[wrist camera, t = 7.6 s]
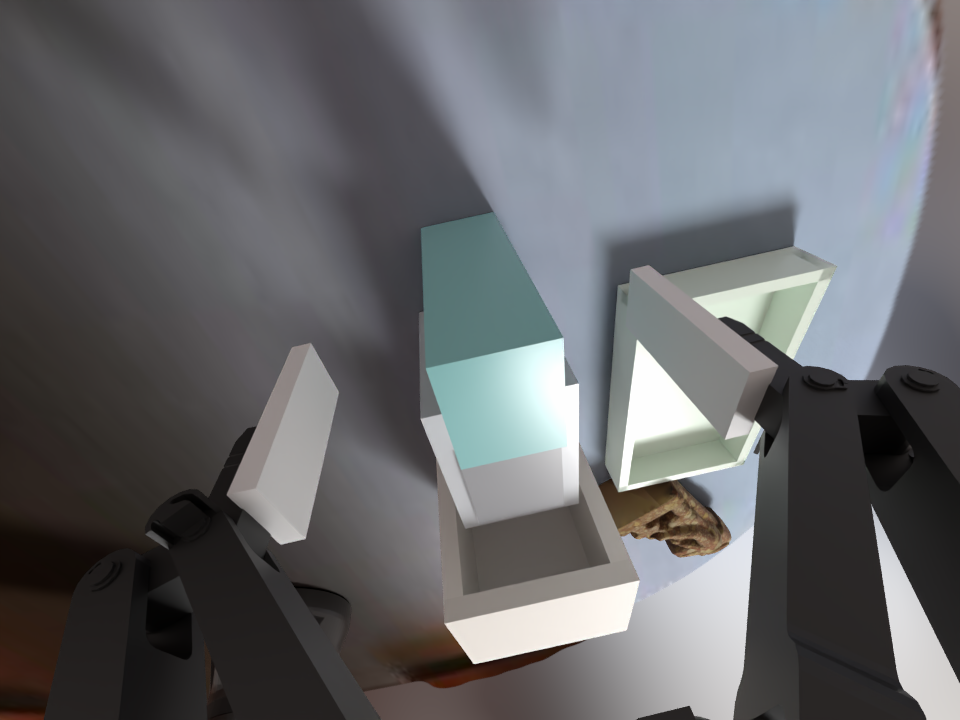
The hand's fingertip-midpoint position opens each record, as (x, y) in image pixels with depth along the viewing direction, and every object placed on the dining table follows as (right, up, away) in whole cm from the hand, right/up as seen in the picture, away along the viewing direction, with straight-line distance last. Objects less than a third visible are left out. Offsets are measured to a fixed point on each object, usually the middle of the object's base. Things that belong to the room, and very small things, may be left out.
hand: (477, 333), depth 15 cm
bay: (+3, -11, +19) cm, 22 cm away
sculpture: (+21, -17, +27) cm, 38 cm away
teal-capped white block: (0, +1, +9) cm, 9 cm away
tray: (+16, -3, +15) cm, 22 cm away
